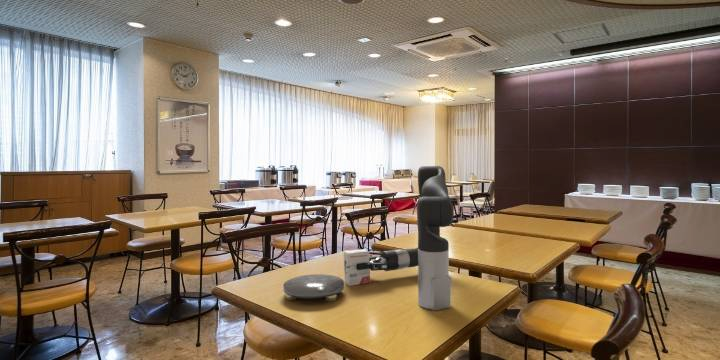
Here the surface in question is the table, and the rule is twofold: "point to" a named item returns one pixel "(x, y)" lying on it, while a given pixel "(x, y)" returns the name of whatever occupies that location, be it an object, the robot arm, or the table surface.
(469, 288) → the table surface
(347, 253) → the ink box
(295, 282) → the base
